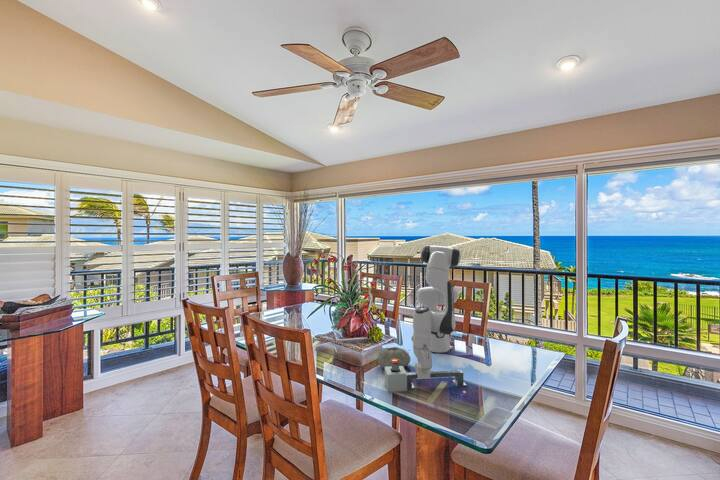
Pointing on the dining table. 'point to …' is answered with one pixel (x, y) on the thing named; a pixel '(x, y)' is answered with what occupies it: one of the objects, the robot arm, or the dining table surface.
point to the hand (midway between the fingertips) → (422, 370)
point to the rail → (457, 374)
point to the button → (395, 364)
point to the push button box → (395, 379)
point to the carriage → (419, 372)
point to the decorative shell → (393, 356)
